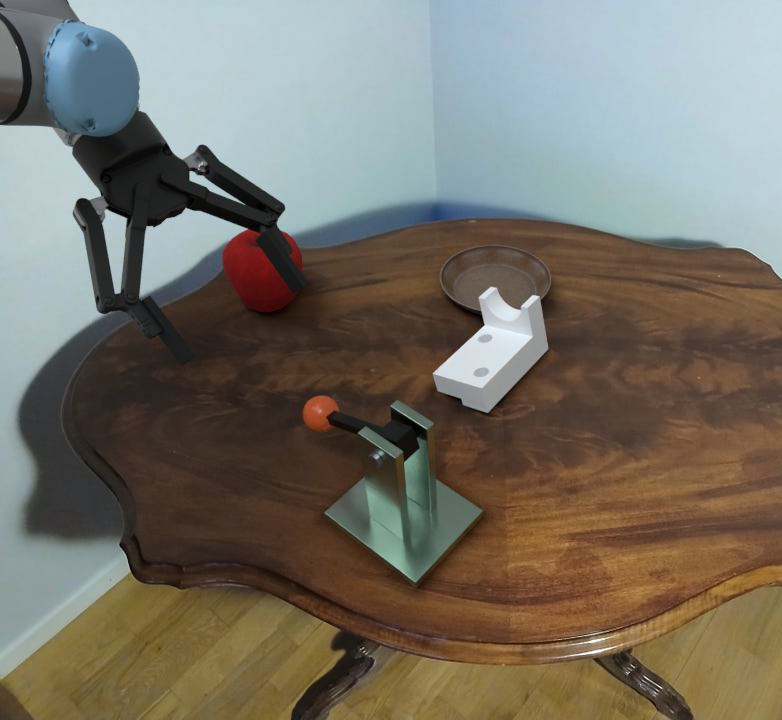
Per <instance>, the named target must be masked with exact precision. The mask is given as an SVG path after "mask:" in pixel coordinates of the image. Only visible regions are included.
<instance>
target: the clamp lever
mask: <svg viewBox="0 0 782 720" xmlns="http://www.w3.org/2000/svg"><path fill="white" fill-rule="evenodd" d="M302 420H303V422H304V424H305V425H306V426H307V427H308V429H310V430H312V431H313V432H317V433H327V432H329V431H331V430H333V429H334V428H338V429H341V430H343V431H346V432H349V433H352V434H353V435H356V436H358V432H359V431H360V430H362V429H363V428H364V427H365V426H366V427H368V428H369V429H371V430H372V431H374V432H375V433H377V434H378V435H380V436H381V437H383V438H384V439H386V440H387V441H389V442H390V443H392V444H393V445H395V446H396V447H398V448H399V449H401V450H402V451H403V456H404V462H405V461H406V460H407V459H408V458H410V457H411V456H412V455H413V454H414V453H415V452H416V451H417V450H418V449H419V448H420V445H419V443H418V440H417V438H416V435H415V432H414V430H413V427H411V426H408V425H405V424H402V423H399V422H396V421H393V420H389V421H388V422H387V423H386V424H384V426H381V425H377V424H375V423H372V422H369V421H366V420H363V419H360V418H357V417H355V416H352V415H350V414H346V413H343V412H341V409H340V406H339V404H338V402H337V401H336V400H335V399H333V398H332V397H330V396H328V395H323V394H322V395H319V394H318V395H315V396H312V397H311V398H310V399H309V400H307V401H306V402H305V404H304V406H303V407H302Z"/></svg>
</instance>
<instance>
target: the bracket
mask: <svg viewBox="0 0 782 720" xmlns="http://www.w3.org/2000/svg"><path fill="white" fill-rule="evenodd" d="M479 302H480V307H481V311H482V315H481V316H482V319H483V324H484V325H483V326H482V327H481V328H480V329H479V330H478V331H477V332H476V333H475V334H474V335H473V336H471V337H470V338H469V339H468V340H467V341H466V342H465V343H463V345H461V346H460V348H459V349H457V350H456V351H455V352H454V353H453V354H452V355H451V356H450V357H448V358H447V360H446V361H445V362H443V363H442V364H441V365H440V366H439V367H438V368H437V369H436V370H435V371H433V373H432V377H433V380H434V383H435V388H436V390H437V392H439V393H442V394H444V395H449V396H451V397H455V398H458V399H461V403H462V406H465V407H468V408H470V409H473V410H477V411H480V412H483V413H487V414H488V413H490V412H491V410H492V409H494V407H495V406H497V404H498V403H499V402H501V400H502V398H504V397H505V396H506V395H507V394H508V392H509V391H510V390H511V389H512V388H513V387H514V386H515V385H516V384H517V383H518V382H519V381H520V380H521V378H523V377H524V376H525V375H526V374H527V372H528V371H530V369H531V368H532V367H533V366H534V365H535V364H536V363H537V362H538V361H539V360H540V359H541V358H542V357H543V355H544V354H545V353H547V351H548V350H549V344H548V343H549V342H548V338H547V332H546V326H545V320H544V315H543V314H544V313H543V308H542V302H541V300H540V296H535V295H532V296H531V297H530V298H529V299H528V300H527V301H526V302H525V303H524V304H523V305H522V306H521V310H517V309H514V308H512V307H510V306H509V305H508V304H506V303H505V302H504V300H503V299H502V298H501V296H500V295H499V293H498V290H497V288H495V287H490V288H489V289H488V290H486V291H485V292H484V293H483V294H482V295H481V296H480V297H479Z"/></svg>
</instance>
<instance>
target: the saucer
mask: <svg viewBox="0 0 782 720" xmlns="http://www.w3.org/2000/svg"><path fill="white" fill-rule="evenodd" d="M439 284H440V286H441V288H442V290H443V291H444V293H445V295H447V296H448V298H450V299H451V300H452V301H453V302H454V303H456V304H457V305H458V306H460V307H462V308H463V309H465V310H466V311H468V312H470V313H471V312H472V313H473V314H477V315H480V316H482V311H481V307H480V302H479V297H480V296H481V295H482V294H483V293H484V292H485V291H486V290H488V289H489V288H490V287H495V288H497V290H498V293H499V295H500V296H501V298H502V299H503V300H504V302H505V303H506V304H508V305H509V306H510V307H512V308H514V309H517V310H521V306H522V305H523V304H524V303H525V302H526V301H527V300H528V299H529V298H530V297H531V296H532V295H535V296H540V301H541V300H542V299H544V297H545V296H546V295H547V294H548V293H549V291H550V288H551V286H552V276H551V272H550V269H549V268H548V266H547V265H546V264H545V263H544V262H543V261H542V260H541V259H540V258H539V257H537V256H536V255H534V254H533V253H530V252H529V251H527V250H524V249H521V248H519V247H514V246H511V245H510V246H509V245H504V244H503V245H502V244H484V245H476V246H472V247H471V246H470V247H468V248H465V249H463V250H460V251H458V252H456V253H454V254H453V255H452V256H450V257H449V258H448V259H447V260H446V261H445V262H444V263H443V265H442V267H441V268H440V272H439Z"/></svg>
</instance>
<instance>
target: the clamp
mask: <svg viewBox="0 0 782 720" xmlns="http://www.w3.org/2000/svg"><path fill="white" fill-rule="evenodd" d="M389 411H390V419H391V420H393V421H396V422H399V423H402V424H405V425H408V426H411V427H413V430H414V432H415V435H416V438H417V440H418V443H419V445H420V448H419V449H418V450H417V451H416V452H415V453H414V454H413V455H412V456H411V457H410V458H408V459H407V460H406V461H405V462H404V456H403V451H402V450H401V449H399V448H398V447H396V446H395V445H393V444H392V443H390V442H389V441H387V440H386V439H384V438H383V437H381V436H380V435H378V434H377V433H375V432H374V431H372V430H371V429H369V428H368V427H366V426H365V427H364V428H363V429H362V430H360V431H359V432H358V435H357V437H358V443H359V444H358V445H359V450H360V457H361V465H362V470H363V471H362V472H363V477H362V478H361V479H360V480H359V481H358V482H356V483H355V484H354V485H353V486H352V487H351V488H350V489H349V490H348V491H347V492H345V493H344V494H343V495H342V496H341V497H339V498H338V500H336V501H335V502H334V503H333V504H332V505H331V506H330V507H328V508H327V509H326V510H325V511H324V513H323V515H324V518H325V520H326V521H327V522H328V523H329V524H331V525H332V526H333V527H334V528H336V529H338V530H339V531H340V532H342V533H343V534H344V535H345V536H347V537H348V538H349V539H350V540H352V541H353V542H354V543H356V544H357V545H358V546H359V547H360V548H362V549H363V550H365V552H367V553H369V554H370V555H372V556H373V557H374V558H375V559H377V560H378V561H379V562H380V563H381V564H383V565H384V566H386V567H387V568H389V570H391V571H392V572H393V573H395V574H396V575H397V576H398V577H400V578H401V579H402V580H404V581H405V582H406V583H407V584H409V585H410V586H412V588H414V589H415V590H416V589H418V587H420V585H421V584H422V583H423V582H424V581H425V580H426V579H427V578H428V577H429V576H430V575H431V574H432V573H433V572H434V570H436V568H437V567H438V566H439V565H440V564H441V563H442V562H443V560H445V558H447V557H448V555H449V554H450V553H451V552H452V551H453V550H454V549H455V548H456V547H457V545H459V543H460V542H461V541H462V540H464V538H465V537H466V536H467V535H468V534H469V533H470V532H471V530H473V528H474V527H475V526H476V525H477V524H478V523H479V522H480V521H481V520H482V518H483V517H484V510H483V509H482V508H480V507H479V506H477V505H476V504H474V503H473V502H471V501H469V499H467V498H466V497H464V496H462V495H461V494H459V493H458V492H456V491H455V490H453V488H450V487H449V486H448V485H446V484H444V483H443V482H442V481H440V480H438V479H437V464H436V463H437V461H436V460H437V459H436V439H435V438H436V437H435V435H436V434H435V423H434V422H433V421H432V420H430V419H429V418H427V417H426V416H424V415H422V414H421V413H419V412H417V410H414V409H413V408H412V407H410V406H408V405H407V404H405V403H404V402H402V401H400V400H398V399H396V400H395V401H393V403H392V404H390V406H389ZM391 420H390V421H391Z"/></svg>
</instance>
